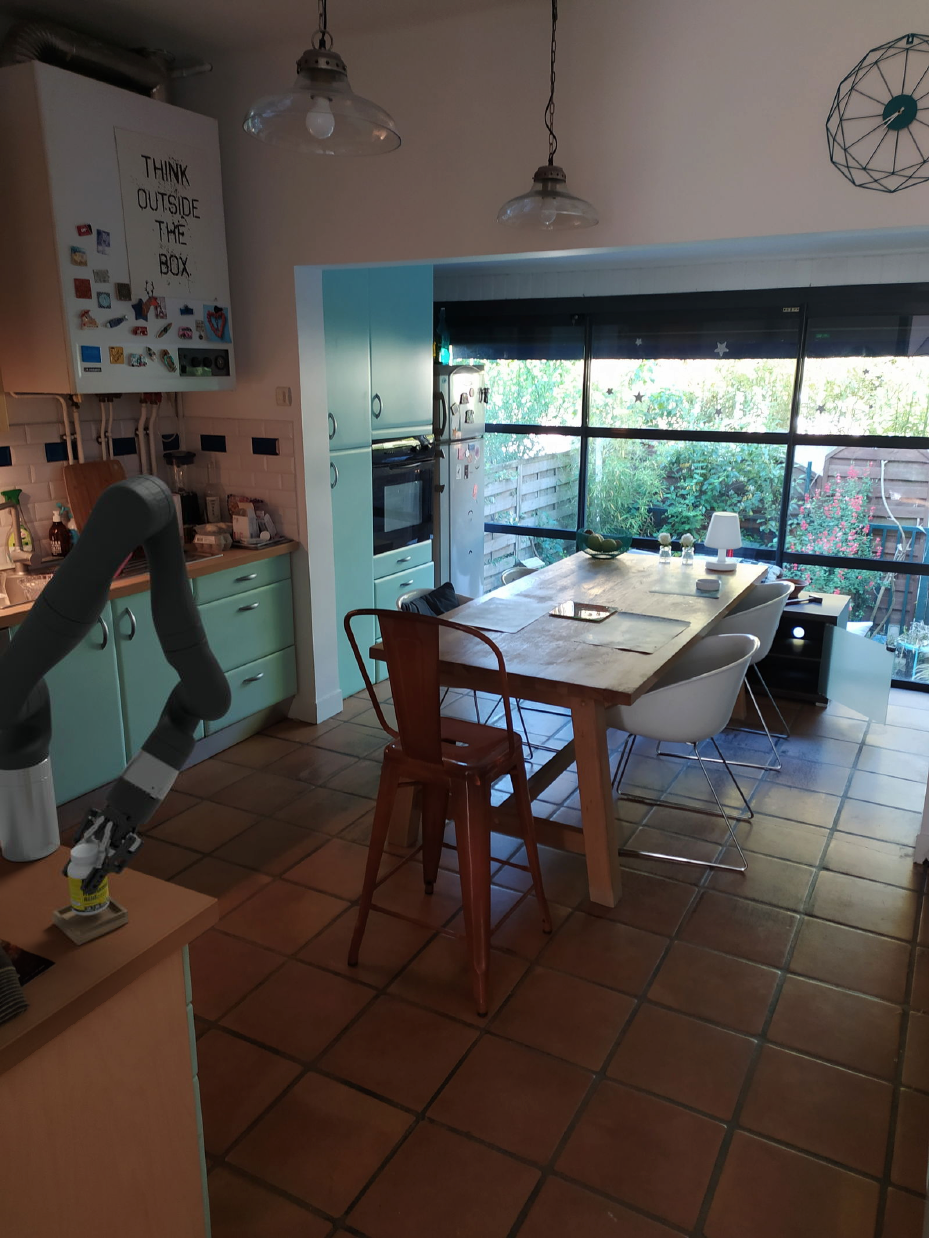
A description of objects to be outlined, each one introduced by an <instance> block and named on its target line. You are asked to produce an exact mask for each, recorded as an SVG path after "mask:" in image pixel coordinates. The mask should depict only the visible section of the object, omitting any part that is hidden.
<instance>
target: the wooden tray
mask: <svg viewBox="0 0 929 1238" xmlns="http://www.w3.org/2000/svg"><path fill="white" fill-rule="evenodd" d="M52 919H53V924H54V925H56V926H57V928H58V929H60V930H61V931H62V932H63V933H64V934H65V935H66V936H67V937H69V939H70V940H72V941H73V942H74V943H75V945H77V946H81V945H82V944H84V943H87V942H88V941H91V940H93V939H96V938H98V937H100V936H102V935H104V934H107V933H108V932H111V931H113V930H115V929H117V928H119V927H121V926H123V924H124V925H126V924H128V923H129V922H130V920H129V911H128V909H126V908H125V907H123V906H122V905H121V904H120V903H119V902H118V901H116V899H114V898H113V897H112V896H110V895H109V904H108V906H107V907H106V908H105V909H104V910H102V911H101V912H99V913H96V914H93V915H86V916H83V915H78V914H76V913H74V912H73V910H72V907H71V903H69V904H67V905H65V906H63V907H60V908H58V909H55V910H53V911H52ZM127 922H128V923H127ZM125 923H126V924H125Z"/></svg>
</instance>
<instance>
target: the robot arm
mask: <svg viewBox="0 0 929 1238" xmlns="http://www.w3.org/2000/svg"><path fill="white" fill-rule="evenodd" d="M140 545H141V547H142V549H143V551H144V555H145V558H146V562H147V565H148V574H149V586H150V587H149V588H150V589H149V590H150V591H149V592H150V597H149V598H150V611H151V619H152V622H153V627H154V630H155V634H156V637H157V638H158V641H159V645H160V646H161V650H162V652H163V655H164V657H165V660H166V662H167V663H168V664H169V666H171V667H172V668H173V669H174V670H175V671H176V673H177V675H178V677H179V678H180V680H179V681H178V682H177V683H176V685H174V687H173V689H172V690H171V692H170V693H169V696H168V697H167V700H166V701H165V705H164V707H163V709H162V711H161V713H160V715H159V718H158V721H157V723H156V725H155V727H154V728H153V730H151V732H150V733H149V735H148V737H147V738H146V740H145V741H144V743H143V744H142V746H141V747H140V749H138V751H137V753H135V755H134V756H132V758H131V759H130V761H128V763H127V764H126V765H125V768H124V769H123V771H122V772H121V773H120V775H119V776H118V778H117V779H116V780H115V782H114V784H112V787H111V788H110V789H109V791H108V792H107V794H106V795H105V797H104V802H105V803H106V804H107V805H105V807H103V809H102V810H98V809H97V808H94V807H92V806H89V807H88V809H87V810H86V811H85V814H84V816H83V817H82V820H81V821H80V823H79V825H78V827H77V829H76V831H75V832H74V834H73V836H72V838H71V843H72V844H74V847H76V846H78V845H81V844H86V843H92V844H96V845H98V847H99V852H100V856H99V858H98V861H97V863H96V867H93V869H92V870H91V872H90V873H89V875H88V876H87V878H86V879H85V881H84V882H83V884H82V885H81V887H80V890H81V891H82V892H84V893H87V894H89V895H92V894H94V892H95V891H96V890H97V889H98V888H99V886H100V885H101V883H102V882H103V880H104V879H105V877H106V876H107V877H108V875H109V874H116V875H120V874H121V873H122V872H123V871H124V870H125V868H127V866H128V865H129V864H130V863H131V861H132V860H133V859H134V857H136V855H137V854H138V853H139V852H140V850H141V849H142V848H143V847H144V846H145V841H144V840H143V839H141V838H139V837H138V836H137V832H138V829H139V827H140V825H141V824H145V825H146V824H147V823H148V822H149V821H150V819H151V818H152V817H153V815H154V814H155V812H156V811H157V809H158V808H159V806H160V805H161V803H162V802H163V800H164V799H165V797H166V795H167V794H168V793H169V791H170V789H171V788H172V786H173V784H174V783H175V780H176V779H177V776H178V775H179V772H180V771H181V770H182V769H183V768H184V765H185V764H186V762H187V761H188V760H189V758H190V757H191V755H192V753H193V752H194V750H195V747H196V745H197V742H196V738H195V736H194V734H195V733H196V730H197V728H198V726H199V724H200V721H203V722H215V721H218V720H220V719H222V718H224V717H225V716H226V715H227V713H228V712H229V710H230V708H231V704H232V691H231V687H230V684H229V681H228V678H227V676H226V674H225V672H224V671H223V668H222V666H221V664H220V663H219V661H218V659H217V658H216V656H215V654H214V653H213V651H212V648H211V646H210V643H209V640H208V637H207V633H206V630H205V626H204V624H203V622H202V618H201V616H200V613H199V611H198V607H197V604H196V601H195V597H194V593H193V591H192V586H191V581H190V578H189V574H188V572H189V571H188V567H187V563H186V558H185V553H184V548H183V541H182V536H181V530H180V522H179V517H178V511H177V505H176V502H175V498H174V495H173V493H172V491H171V489H170V488H169V487H168V485H167V484H166V483H165V482H164V480H163V481H162V479H160V478H159V477H157V476H154V475H150V474H144V473H143V474H137V475H134V476H131V477H129V478H125V479H123V480H120V481H117V482H115V483H113V484H110V486H107V488H106V489H104V490H103V491H102V492H101V494H100V495H99V496H98V497H97V499H96V501H95V503H94V506H93V507H92V509H91V511H90V514H89V516H88V518H87V520H86V522H85V524H84V525H83V528H82V530H81V532H80V534H79V536H78V538H77V540H76V542H75V543H74V545H73V547H72V548H71V549H70V551H69V553H67V555H66V556H65V557H64V559H63V560H62V561H61V562H60V564H59V566H58V567H57V568H56V569H55V571H54V573H53V574H52V575H51V577H50V579H49V580H48V581H47V583H46V584H45V585H44V587H43V588H42V590H41V592H40V593H39V594H38V596H37V597H36V599H35V600H34V602H33V603H32V605H31V607H30V609H29V610H28V612H27V614H26V616H25V617H24V619H23V620H22V622H21V623H20V625H19V626H18V628H17V629H16V631H15V633H13V636H12V637H11V640H10V641H9V643H8V644H7V646H6V648H4V650H3V652H1V654H0V847H1V854H2V856H3V858H5V859H6V860H8V861H11V862H30V861H35V860H38V859H42V858H44V857H47V856H49V855H51V854H52V853H54V852H56V850H57V849H59V847H60V845H61V839H60V831H59V822H58V814H57V813H58V812H57V805H56V799H55V798H56V797H55V788H54V780H53V771H52V763H51V756H50V744H51V741H52V739H53V738H52V737H53V723H52V704H51V703H52V702H51V693H50V690H49V686H48V684H47V682H46V679H45V677H44V676H45V675H46V674H47V673H49V671H51V670H52V669H53V668H54V667H56V665H57V664H59V663H60V662H61V661H63V659H65V658H66V657H67V656H68V655H69V654H70V653H71V652H72V651H73V650H75V648H76V647H77V646H78V645H80V643H81V642H82V641H83V640H84V639H85V638H86V636H87V635H88V634H89V633H90V631H91V630H92V628H93V627H94V625H95V624H96V622H97V621H98V620H99V618H100V617H101V614H102V613H103V611H104V610H105V609H106V606H107V603H108V601H109V600H108V599H109V597H110V592H111V586H112V582H113V580H114V577H116V573H117V572H118V571H119V570H120V568H121V566H122V565H123V563H125V562H126V560H127V559H128V558H129V556H130V555H131V554H132V553H133V552H134V551H135V550H136V549H137V548H138V547H139V546H140ZM82 836H83V837H82ZM52 843H53V844H52ZM55 844H56V845H55ZM57 845H58V846H57ZM108 857H109V858H108ZM107 858H108V860H107ZM120 859H121V860H120ZM118 860H120V861H119V862H118ZM71 862H72V861H71V857H70V858H69V859H68V860H67V862H66V864H65V865H64V867H63V869H62V870H61V875H62V876H64V877H65V878H67V879H68V872H67V869H68V866H69V864H70V863H71Z"/></svg>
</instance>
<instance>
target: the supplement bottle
mask: <svg viewBox="0 0 929 1238" xmlns="http://www.w3.org/2000/svg"><path fill="white" fill-rule="evenodd" d="M99 856H100V852H99V847H98V845H96V844H92V843H86V844H81V845H78V846H76V847H75V846H74V847H73V848H72V849H70V858H71V861H72V862H71V863H70V864H69V866H68V869H67V872H68V878H67V880H68V889H69V896H70V897H69V898H70V904H71V907H72V910H73V912H74V913H76V914H78V915H83V916H86V915H93V914H96V913H99V912H101V911H102V910H104V909H105V908H106V907H107V906H108V904H109V896H110V893H109V884H108V875H107V876H106V877H105V879H104V880H103V882H102V883H101V885H100V886H99V888H98V889H97V890H96V891H95V892H94V894H92V895H89V894H87V893H84V892H82V891H81V890H80V887H81V885H82V884H83V882H84V881H85V879H86V878H87V876H88V875H89V873H90V872H91V870H92V869H93V867H96V863H97V861H98V858H99Z"/></svg>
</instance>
